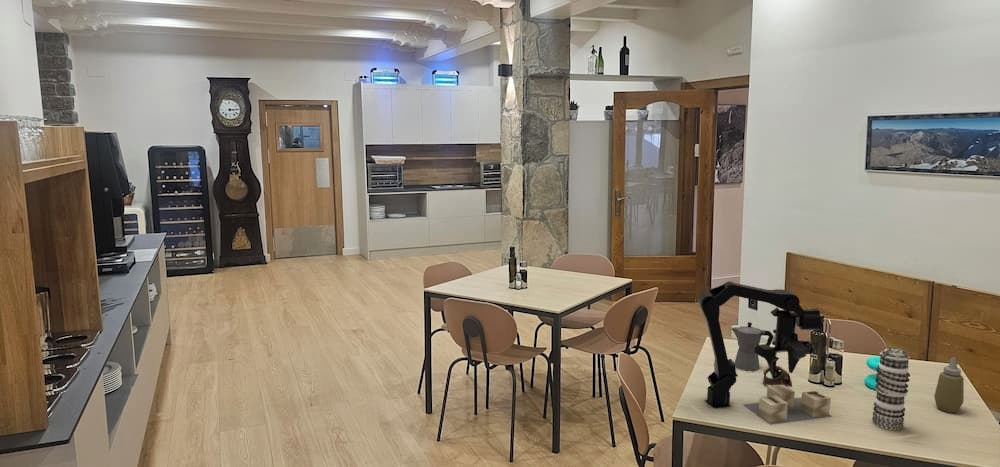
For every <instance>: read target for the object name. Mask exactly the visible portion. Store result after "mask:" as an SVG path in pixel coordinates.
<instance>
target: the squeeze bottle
mask: <svg viewBox="0 0 1000 467" xmlns="http://www.w3.org/2000/svg"><path fill="white" fill-rule="evenodd" d="M964 387H965V386H964V376H962V370H961V368H959V367H958V364H957V358H956V357H952V356H951V358H950V361H949V364H948V365H946V366H944V367H943V372H940V373H939V375H938V380H937V384H936V388H935V392H934V396H933V398H934V401H935V404H936V408H937V409H938V410H940V411H942V412H945V413H946V412H947V413H952V414H953V413H958V412H959V410H960V409H961V407H962V406H963V404H964V396H965V395H964V394H965V393H964V392H965V391H964V389H965V388H964Z"/></svg>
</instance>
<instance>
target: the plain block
mask: <svg viewBox="0 0 1000 467" xmlns="http://www.w3.org/2000/svg"><path fill="white" fill-rule="evenodd" d="M766 391H767V392H766V397H768V396H777V397H779V398H780V399H782V400H783V401H785V402H787V403H788V407H787V410H788V409H793V408H794V398H795V395H796V393H795V391H794V390H793V389H791V388H790V387H788V386H786V385H785V384H784V385H782V384H778V385H773V386H772V385H767V388H766Z"/></svg>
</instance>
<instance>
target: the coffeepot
mask: <svg viewBox="0 0 1000 467" xmlns="http://www.w3.org/2000/svg"><path fill="white" fill-rule="evenodd" d="M752 324H753V323H752V322H750V321H749V322H747V326H743V325H742V326H739V327H737V326H736V327H732V328H731V331H732V332H733V334H734V335H735V337H736V339H737V346H738V349H737V352H736V356H735V361H734V364H735V367H736V368H737V369H739V370H742V371H747V372H753V371H754V372H755V371H758V370H759V369H760V368H761V367H760V359H759V355H758V354H756V353H754V350H755V346H756V345H760V342H761V339H762V336H768V338H767V340H766V343H765V344H766V345H768V346H770V347H771V344H772V342H773V340H774V333H773V334H772V332H771V331H770V330H765V329H760V328H758V327H753V326H752Z"/></svg>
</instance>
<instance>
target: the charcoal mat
mask: <svg viewBox="0 0 1000 467" xmlns="http://www.w3.org/2000/svg"><path fill="white" fill-rule="evenodd" d="M801 399H802V396H801V397H794V408H793V409H788V410H787V420H786V421H782V422H774V423H769V422H768V421H766V420H765V419H764V418H762V417H761V416H759V415H758V412H759V402H753V403H745V404H742V406H744V407H745V408H746V409H747V410H749V411H751V412H752V413H754V415H756V416H758V417H759V418H761V419H762V420H763V421H765V422H766V423H767V424H769V425H771V426H773V425H779V424H787V423H794V422H802V421H807V420H808V421H811V420H817V419H824V418H832V417H833V416H834V415H831V414H830V413H829V415H827V416H820V417H812V416H810V415H809V414H807V413H806V412H804V411H802V410H801Z"/></svg>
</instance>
